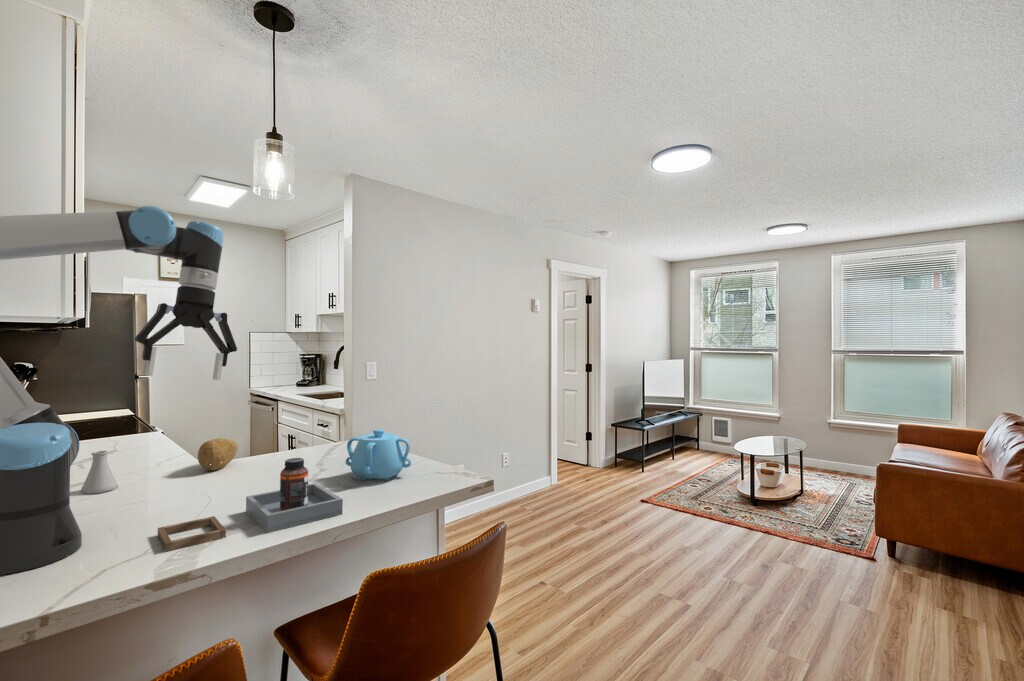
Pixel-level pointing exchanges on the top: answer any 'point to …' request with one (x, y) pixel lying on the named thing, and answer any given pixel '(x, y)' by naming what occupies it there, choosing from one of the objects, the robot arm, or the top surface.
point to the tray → (273, 518)
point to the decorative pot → (378, 455)
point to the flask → (99, 475)
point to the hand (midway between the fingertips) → (183, 378)
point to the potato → (216, 453)
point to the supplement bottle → (293, 484)
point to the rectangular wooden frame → (191, 540)
